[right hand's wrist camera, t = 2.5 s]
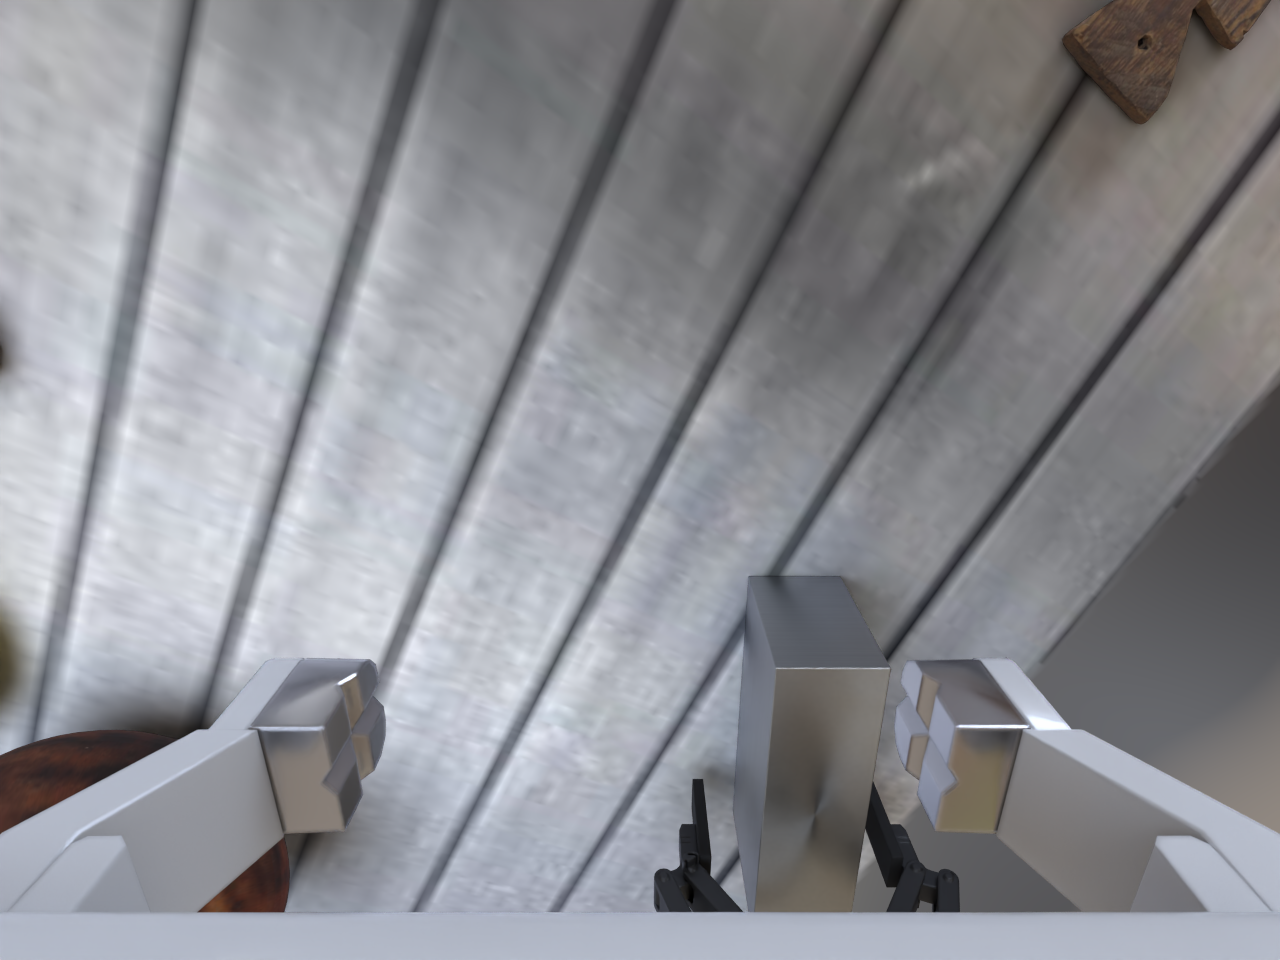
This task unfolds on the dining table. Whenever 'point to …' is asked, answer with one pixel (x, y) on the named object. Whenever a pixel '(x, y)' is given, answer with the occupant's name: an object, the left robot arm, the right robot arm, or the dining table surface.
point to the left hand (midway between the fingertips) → (781, 793)
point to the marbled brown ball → (79, 760)
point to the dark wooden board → (1150, 45)
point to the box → (805, 743)
